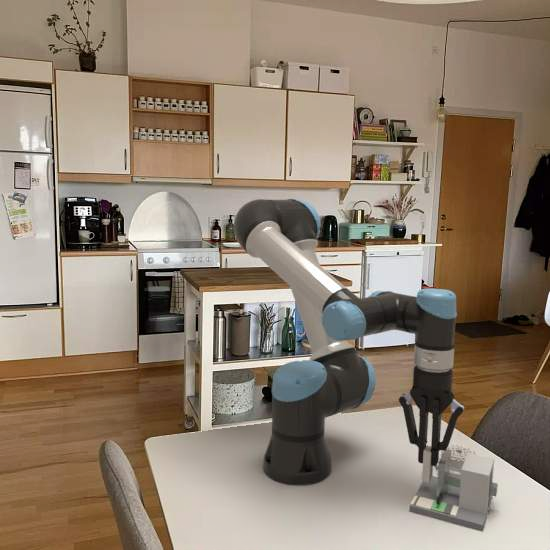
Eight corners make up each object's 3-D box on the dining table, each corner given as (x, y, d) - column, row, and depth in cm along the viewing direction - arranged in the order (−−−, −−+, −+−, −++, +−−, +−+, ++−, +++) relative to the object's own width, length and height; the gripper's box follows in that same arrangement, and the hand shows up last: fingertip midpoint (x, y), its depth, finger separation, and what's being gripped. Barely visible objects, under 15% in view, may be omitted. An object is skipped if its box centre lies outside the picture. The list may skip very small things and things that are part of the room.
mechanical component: (436, 478, 122) (485, 483, 121) (438, 459, 122) (486, 463, 120) (433, 457, 132) (477, 462, 130) (434, 439, 131) (478, 444, 130)
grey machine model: (432, 504, 108) (434, 469, 107) (443, 480, 117) (445, 448, 116) (491, 519, 103) (494, 483, 102) (498, 493, 112) (500, 460, 111)
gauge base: (409, 511, 109) (411, 467, 108) (426, 479, 121) (428, 440, 120) (482, 531, 103) (486, 485, 101) (492, 495, 115) (495, 454, 114)
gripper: (395, 367, 111) (390, 478, 114) (464, 377, 105) (456, 495, 108) (405, 357, 118) (400, 463, 121) (470, 367, 112) (463, 478, 115)
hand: (427, 478), depth 115 cm, fingers closed
